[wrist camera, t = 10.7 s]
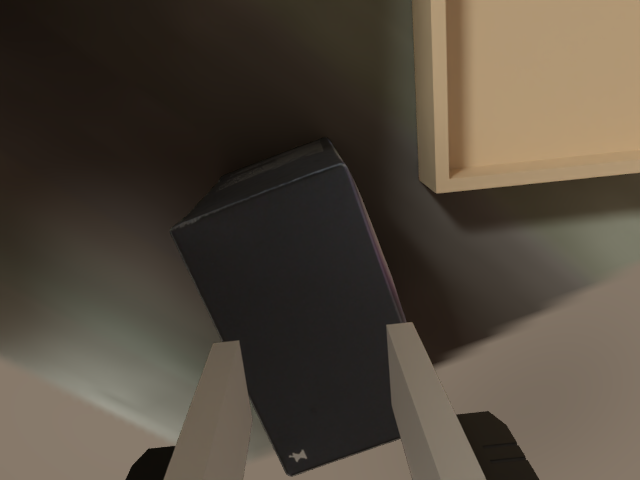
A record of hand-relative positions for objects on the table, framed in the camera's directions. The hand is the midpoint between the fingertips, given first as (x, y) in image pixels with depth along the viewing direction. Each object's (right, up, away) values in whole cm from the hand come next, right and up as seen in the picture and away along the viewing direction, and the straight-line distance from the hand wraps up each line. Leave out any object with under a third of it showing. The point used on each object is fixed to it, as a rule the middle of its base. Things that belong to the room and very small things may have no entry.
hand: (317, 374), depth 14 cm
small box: (0, +4, +12) cm, 13 cm away
